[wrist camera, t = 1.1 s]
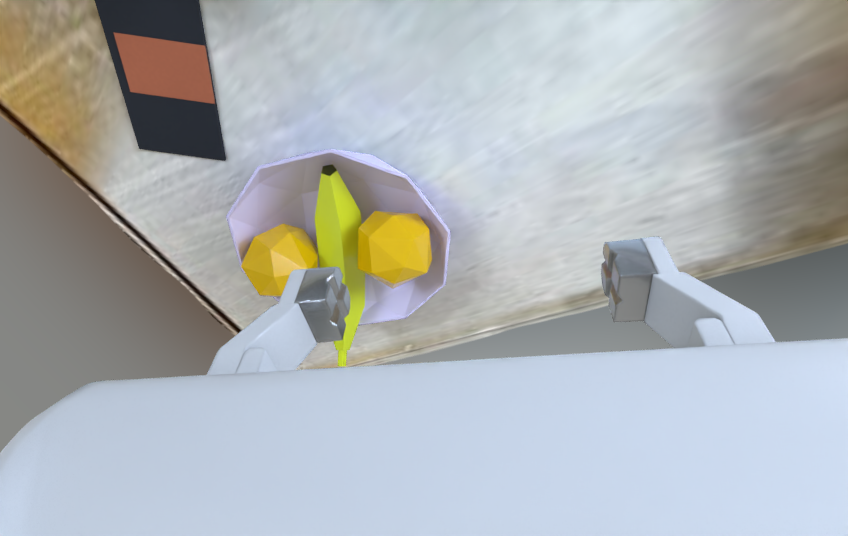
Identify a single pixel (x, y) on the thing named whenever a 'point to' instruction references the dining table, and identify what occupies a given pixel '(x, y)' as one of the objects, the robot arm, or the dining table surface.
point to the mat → (164, 74)
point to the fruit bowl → (342, 233)
